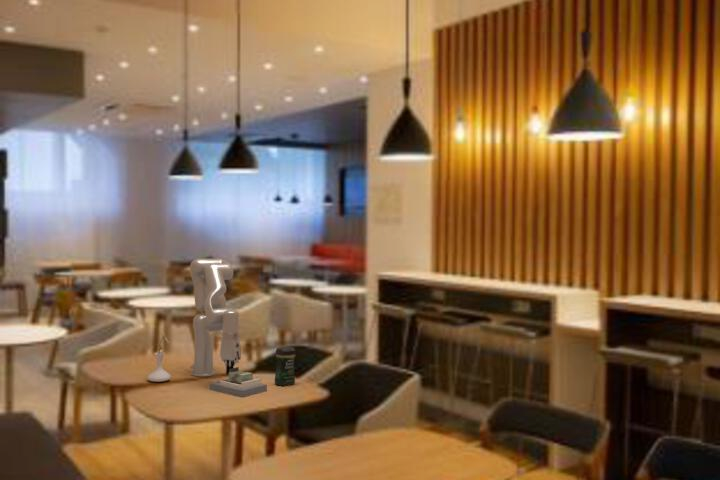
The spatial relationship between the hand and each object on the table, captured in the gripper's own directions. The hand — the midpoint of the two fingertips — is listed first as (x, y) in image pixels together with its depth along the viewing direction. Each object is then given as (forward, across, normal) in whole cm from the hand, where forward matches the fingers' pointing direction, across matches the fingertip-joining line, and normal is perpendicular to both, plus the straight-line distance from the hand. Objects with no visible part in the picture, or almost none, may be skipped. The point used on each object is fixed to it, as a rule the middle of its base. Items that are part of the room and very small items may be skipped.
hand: (229, 374), depth 349 cm
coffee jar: (+7, -14, -24) cm, 29 cm away
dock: (+7, -6, 0) cm, 9 cm away
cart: (+4, -7, 0) cm, 8 cm away
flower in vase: (+7, +37, +12) cm, 40 cm away
